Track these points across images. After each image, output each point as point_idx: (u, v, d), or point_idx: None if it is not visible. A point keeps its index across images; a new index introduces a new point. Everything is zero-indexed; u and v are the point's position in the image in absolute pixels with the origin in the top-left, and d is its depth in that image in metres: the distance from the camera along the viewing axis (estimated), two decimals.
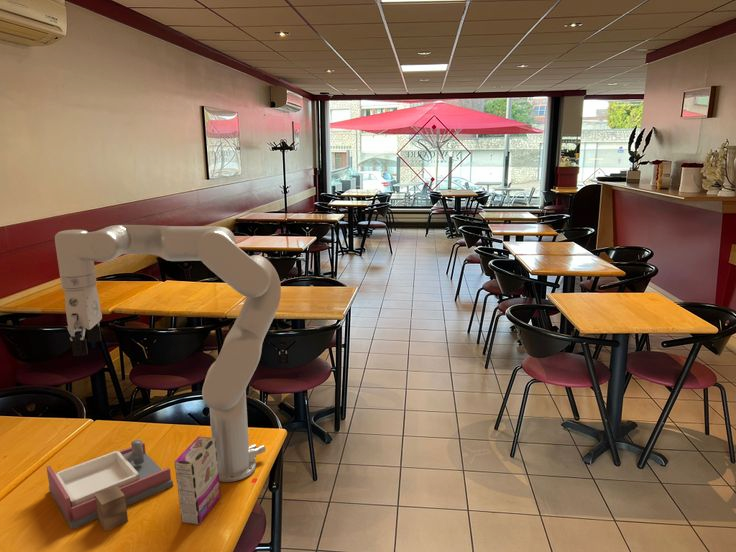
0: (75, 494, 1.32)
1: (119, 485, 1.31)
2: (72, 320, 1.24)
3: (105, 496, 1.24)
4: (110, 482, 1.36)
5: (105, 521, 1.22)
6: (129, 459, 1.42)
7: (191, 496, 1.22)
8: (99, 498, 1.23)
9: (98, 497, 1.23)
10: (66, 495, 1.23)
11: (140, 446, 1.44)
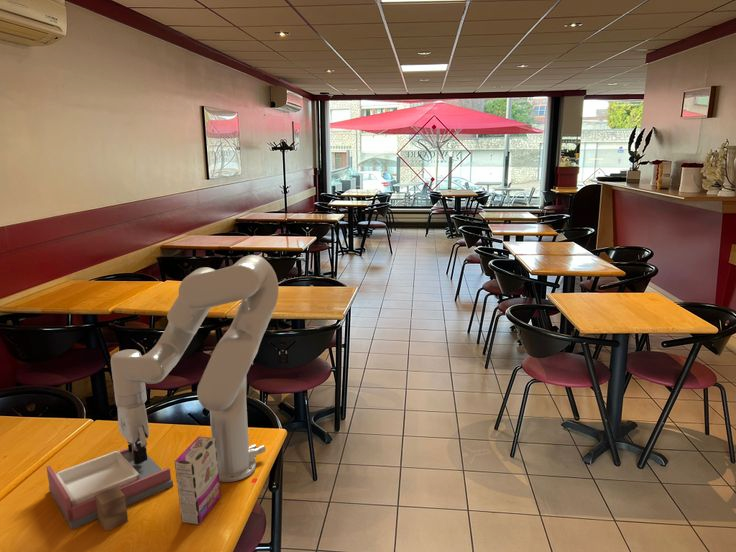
0: (75, 494, 1.32)
1: (119, 485, 1.31)
2: None
3: (105, 496, 1.24)
4: (110, 482, 1.36)
5: (105, 521, 1.22)
6: (129, 459, 1.42)
7: (191, 496, 1.22)
8: (99, 498, 1.23)
9: (98, 497, 1.23)
10: (66, 495, 1.23)
11: None
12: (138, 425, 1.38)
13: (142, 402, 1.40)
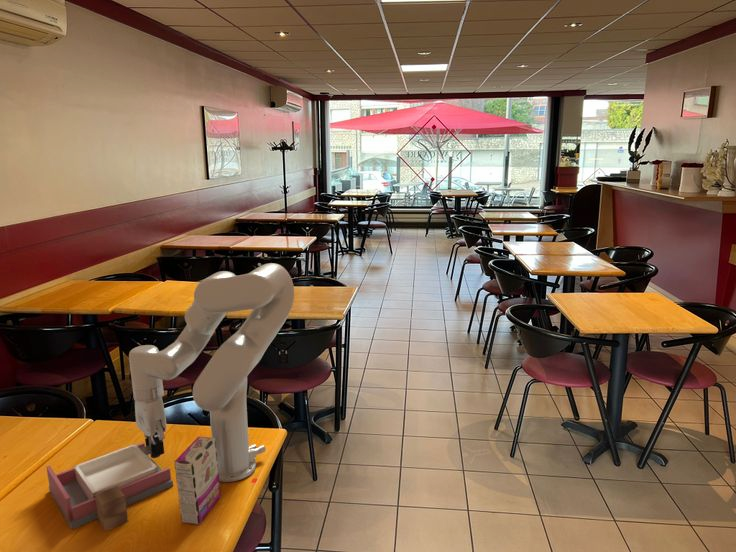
0: (95, 486, 1.35)
1: (138, 477, 1.34)
2: None
3: (105, 496, 1.24)
4: (129, 475, 1.39)
5: (105, 521, 1.22)
6: (146, 452, 1.45)
7: (191, 496, 1.22)
8: (99, 498, 1.23)
9: (98, 497, 1.23)
10: (66, 495, 1.23)
11: None
12: (156, 419, 1.41)
13: (159, 396, 1.43)
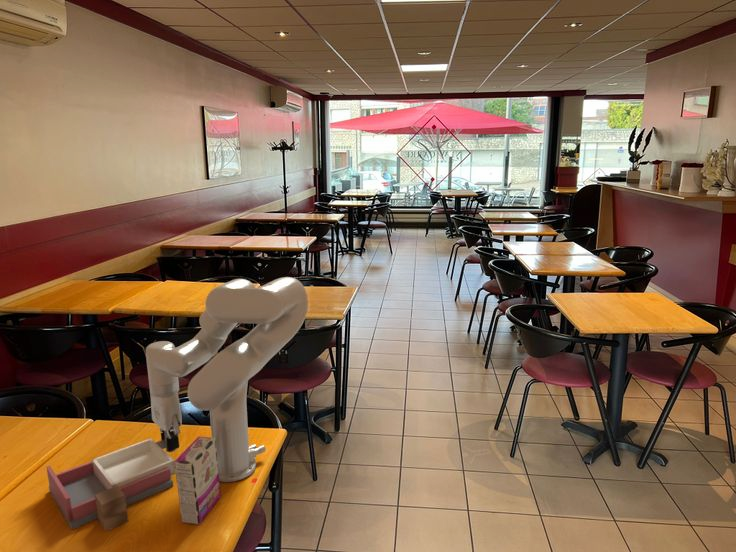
0: (113, 479, 1.38)
1: (155, 470, 1.37)
2: None
3: (105, 496, 1.24)
4: (145, 468, 1.42)
5: (105, 521, 1.22)
6: (162, 446, 1.48)
7: (191, 496, 1.22)
8: (99, 498, 1.23)
9: (98, 497, 1.23)
10: (66, 495, 1.23)
11: None
12: (172, 413, 1.44)
13: (175, 392, 1.46)
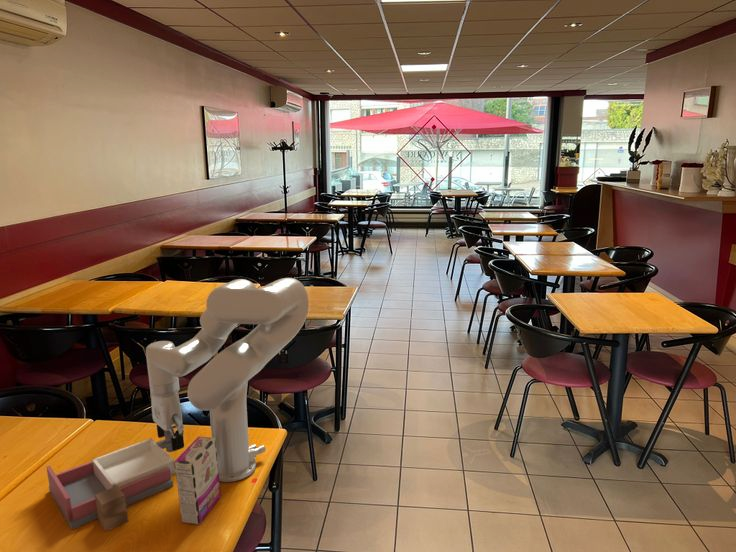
0: (113, 479, 1.38)
1: (155, 470, 1.37)
2: None
3: (105, 496, 1.24)
4: (146, 468, 1.42)
5: (105, 521, 1.22)
6: (162, 446, 1.48)
7: (191, 496, 1.22)
8: (99, 498, 1.23)
9: (98, 497, 1.23)
10: (66, 495, 1.23)
11: None
12: (172, 413, 1.44)
13: (176, 391, 1.46)
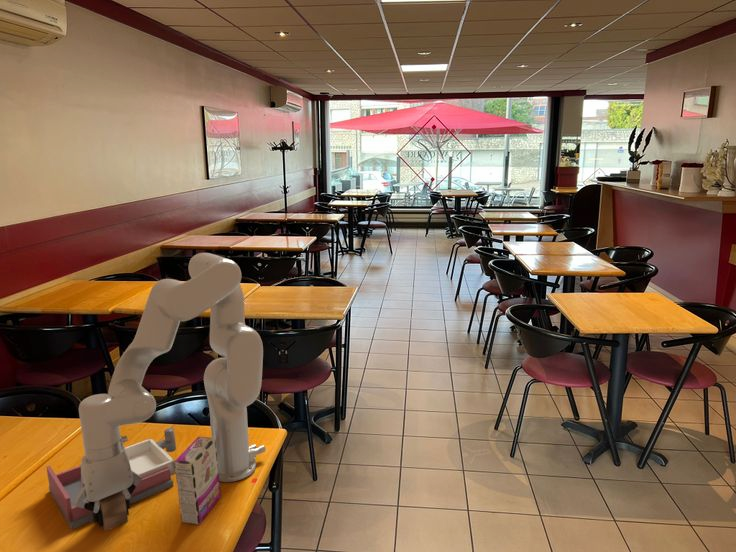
0: None
1: (155, 470, 1.37)
2: (134, 473, 1.28)
3: None
4: (146, 468, 1.42)
5: (105, 521, 1.22)
6: (162, 446, 1.48)
7: (191, 496, 1.22)
8: None
9: None
10: (66, 495, 1.23)
11: (173, 434, 1.50)
12: (82, 480, 1.20)
13: (90, 461, 1.18)
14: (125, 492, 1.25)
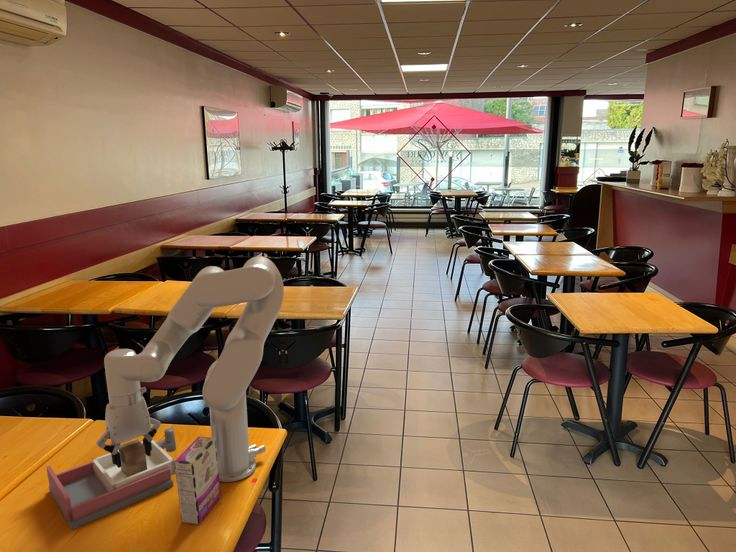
0: (113, 479, 1.38)
1: (155, 470, 1.37)
2: (153, 419, 1.43)
3: (127, 447, 1.39)
4: None
5: (127, 468, 1.38)
6: (162, 446, 1.48)
7: (191, 496, 1.22)
8: (122, 448, 1.39)
9: (121, 448, 1.39)
10: (66, 495, 1.23)
11: (173, 434, 1.50)
12: (106, 425, 1.35)
13: (114, 407, 1.34)
14: (147, 436, 1.41)
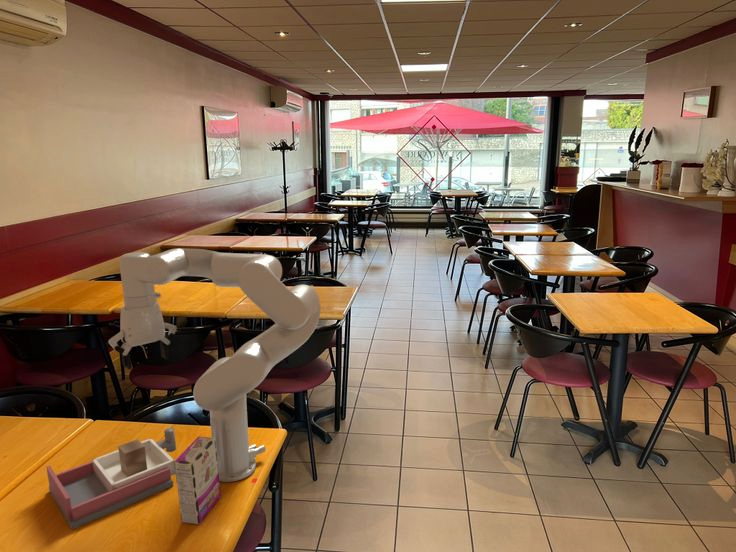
0: (113, 479, 1.38)
1: (155, 470, 1.37)
2: None
3: (127, 447, 1.39)
4: None
5: (127, 468, 1.38)
6: (162, 446, 1.48)
7: (191, 496, 1.22)
8: (122, 448, 1.39)
9: (121, 448, 1.39)
10: (66, 495, 1.23)
11: (173, 434, 1.50)
12: (121, 327, 1.36)
13: (129, 308, 1.34)
14: (163, 339, 1.42)
